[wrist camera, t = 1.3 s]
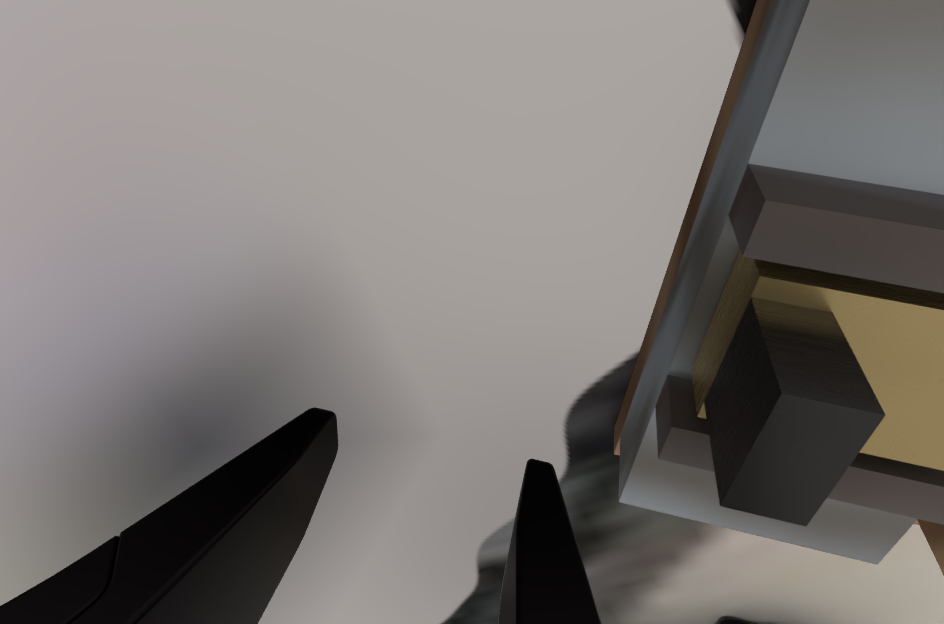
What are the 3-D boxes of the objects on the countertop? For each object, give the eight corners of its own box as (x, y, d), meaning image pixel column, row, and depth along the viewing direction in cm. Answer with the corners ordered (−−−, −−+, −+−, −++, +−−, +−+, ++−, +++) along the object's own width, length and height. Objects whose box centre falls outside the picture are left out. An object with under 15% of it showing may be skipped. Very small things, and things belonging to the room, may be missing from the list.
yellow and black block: (932, 420, 15) (1043, 601, 11) (690, 369, 15) (711, 521, 11) (1036, 288, 12) (1225, 457, 8) (745, 236, 13) (794, 370, 9)
